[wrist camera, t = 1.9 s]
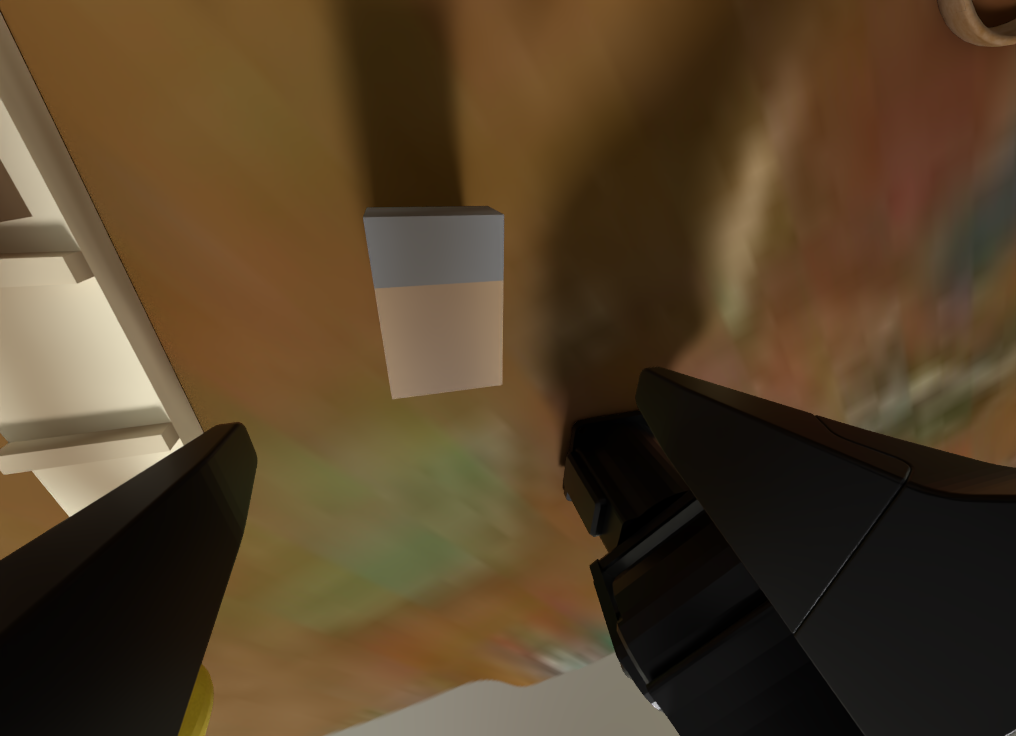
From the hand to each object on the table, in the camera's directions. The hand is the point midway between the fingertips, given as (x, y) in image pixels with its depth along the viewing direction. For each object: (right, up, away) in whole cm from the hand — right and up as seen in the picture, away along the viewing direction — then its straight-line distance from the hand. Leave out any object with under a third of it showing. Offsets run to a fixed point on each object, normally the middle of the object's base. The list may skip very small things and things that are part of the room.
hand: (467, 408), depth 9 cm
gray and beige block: (-3, +5, +8) cm, 10 cm away
